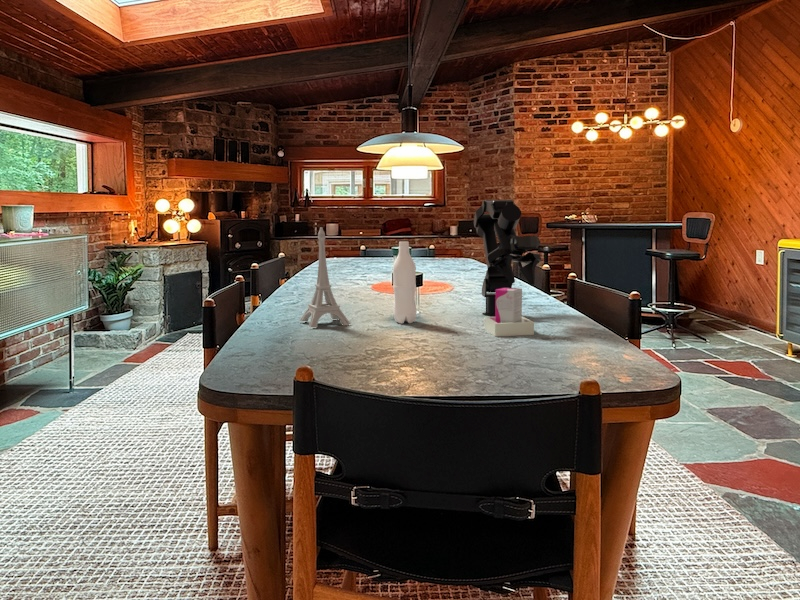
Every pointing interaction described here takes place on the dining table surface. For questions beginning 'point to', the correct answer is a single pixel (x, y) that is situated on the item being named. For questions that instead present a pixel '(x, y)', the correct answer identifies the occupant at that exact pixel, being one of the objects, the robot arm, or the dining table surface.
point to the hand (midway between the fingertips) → (523, 284)
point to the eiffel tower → (317, 306)
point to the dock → (509, 327)
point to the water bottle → (404, 285)
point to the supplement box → (508, 305)
